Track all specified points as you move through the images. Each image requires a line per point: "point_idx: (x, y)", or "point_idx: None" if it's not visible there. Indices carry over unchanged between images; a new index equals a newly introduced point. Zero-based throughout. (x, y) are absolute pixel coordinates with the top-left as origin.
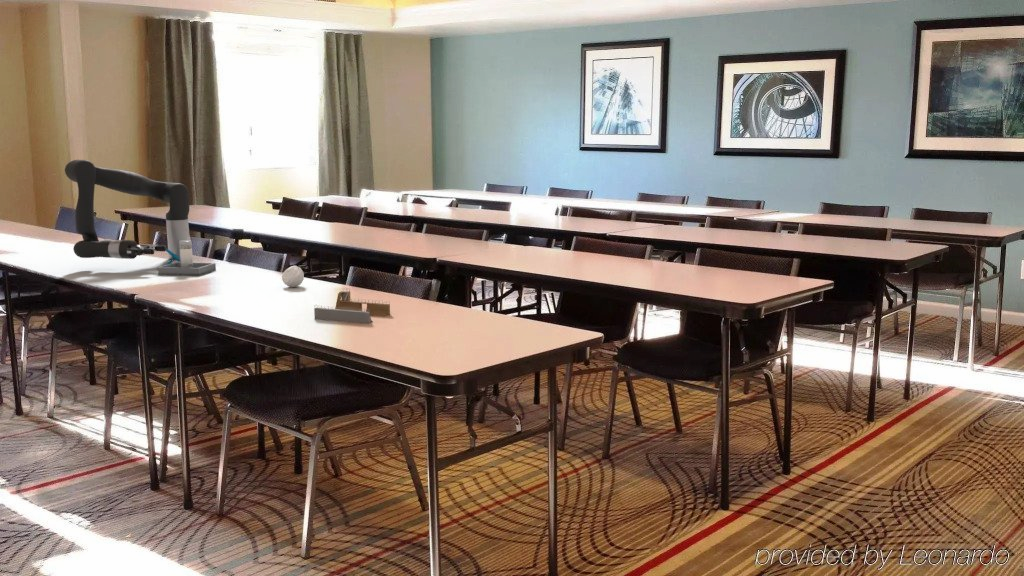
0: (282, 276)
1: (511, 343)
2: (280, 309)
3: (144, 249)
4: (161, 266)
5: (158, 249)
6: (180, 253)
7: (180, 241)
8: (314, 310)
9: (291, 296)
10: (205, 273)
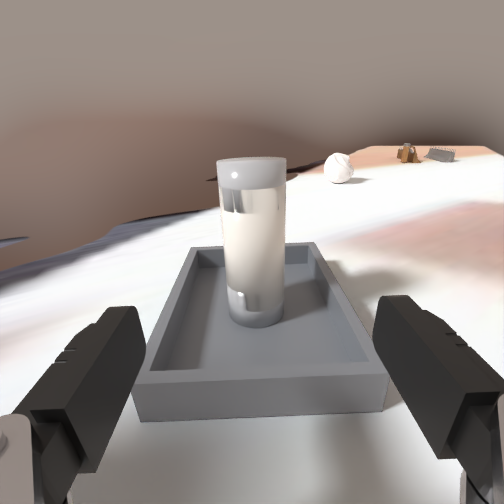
0: (350, 168)
1: (411, 147)
2: (450, 170)
3: (493, 410)
4: (346, 368)
5: (103, 417)
6: (281, 234)
7: (281, 160)
8: (454, 154)
9: (389, 176)
10: None
